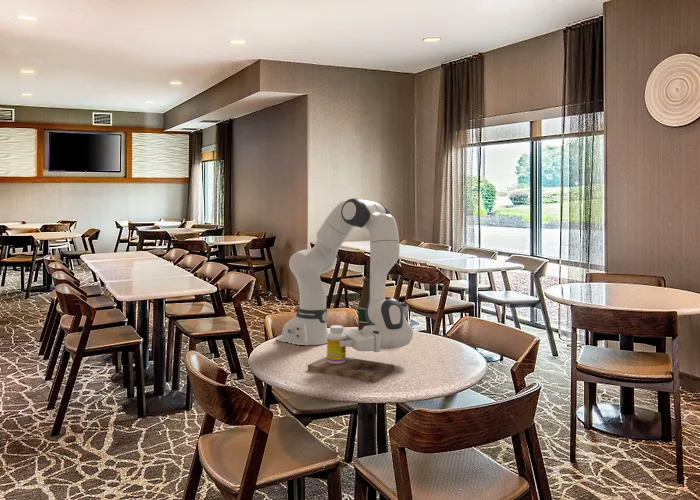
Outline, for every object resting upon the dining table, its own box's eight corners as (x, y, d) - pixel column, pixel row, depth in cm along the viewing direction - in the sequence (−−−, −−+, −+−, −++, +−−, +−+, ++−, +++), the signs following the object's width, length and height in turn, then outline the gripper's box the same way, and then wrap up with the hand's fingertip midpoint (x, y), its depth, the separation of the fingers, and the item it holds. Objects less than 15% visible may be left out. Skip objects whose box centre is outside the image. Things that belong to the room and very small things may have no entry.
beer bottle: (376, 329, 278) (377, 278, 276) (371, 333, 271) (372, 280, 269) (360, 328, 281) (361, 277, 279) (355, 331, 274) (356, 279, 271)
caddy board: (307, 370, 212) (307, 364, 212) (330, 359, 226) (330, 354, 226) (374, 382, 200) (374, 376, 200) (394, 370, 214) (394, 364, 214)
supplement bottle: (343, 365, 212) (343, 329, 211) (324, 363, 213) (325, 327, 212) (347, 360, 218) (347, 325, 217) (329, 359, 220) (329, 324, 219)
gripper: (359, 323, 229) (324, 325, 224) (382, 335, 210) (344, 338, 205) (359, 339, 229) (324, 342, 224) (381, 353, 211) (344, 356, 205)
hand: (334, 340), depth 214 cm, fingers open, 8 cm apart
